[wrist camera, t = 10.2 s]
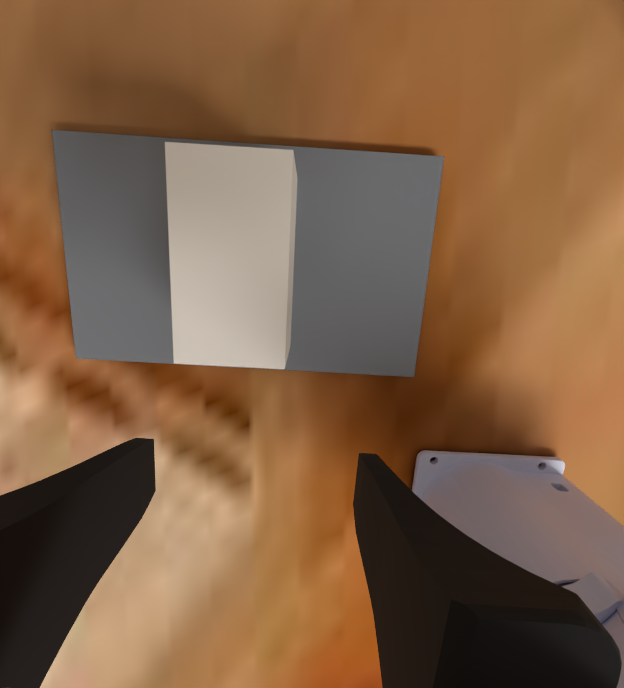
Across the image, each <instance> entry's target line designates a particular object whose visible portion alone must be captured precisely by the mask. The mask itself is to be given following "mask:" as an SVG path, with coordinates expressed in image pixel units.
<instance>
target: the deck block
mask: <svg viewBox="0 0 624 688" xmlns="http://www.w3.org/2000/svg"><path fill="white" fill-rule="evenodd" d="M165 160H166V184H167V209H168V234H169V259H170V284H171V308H172V333H173V358H174V364H192V365H211V366H230V367H250V368H269V369H285V366H286V362H287V358H288V354H289V350H290V344H291V320H292V297H293V273H294V250H295V226H296V202H297V172H296V165H295V158H294V152H293V150H286V149H270V148H255V147H239V146H223V145H207V144H192V143H176V142H165Z"/></svg>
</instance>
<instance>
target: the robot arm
mask: <svg viewBox="0 0 624 688" xmlns="http://www.w3.org/2000/svg"><path fill="white" fill-rule="evenodd" d="M432 457H436V458H435V460H433V461H430V459H431V458H432ZM540 463H542V464H541V465H540V466H538V465H539V464H540ZM564 468H565V463H564V462H563V461H562V460H561V459H559V458H558V457H546V456H526V455H507V454H487V453H468V452H448V451H429V450H424V451H421V452H419V453H418V455H417V459H416V466H415V472H414V479H413V486H412V491H411V490H410V489H409V488H408V487H407V486H406V485H405V484H404V483H403V482H402V481H401V480H400V479H399V478H398V477H397V476H396V475H395V473H394V472H393V471H392V470H391V469H390V468H389V467H388V466H387V465H386V464H385V463H384V462H383V461H382V459H381V458H380V457H379V456H378V455H377V454H366V453H359V459H358V467H357V476H356V484H355V493H354V501H353V507H354V518H355V527H356V534H357V539H358V544H359V548H360V553H361V557H362V562H363V566H364V571H365V575H366V580H367V584H368V589H369V594H370V598H371V603H372V609H373V614H374V621H375V629H376V636H377V644H378V652H379V660H380V668H381V677H382V685H383V688H624V526H623V525H621V524H620V523H619V522H618V521H617V520H615V519H614V518H613V517H612V516H611V515H609V514H608V513H607V512H606V511H605V510H603V509H602V508H601V507H600V506H599V505H597V504H596V503H595V502H594V501H593V500H591V499H590V498H589V497H588V496H587V495H586V494H584V493H583V492H582V491H581V490H580V489H578V488H577V487H576V486H575V485H574V484H572V483H571V482H570V481H569V480H568V479H566V478H565V477H564V476H563V472H564ZM155 491H156V490H155V462H154V439H145V438H135V439H132V440H129V441H127V442H124V443H122V444H120V445H118V446H116V447H113V448H111V449H109V450H107V451H105V452H103V453H101V454H99V455H96V456H94V457H92V458H90V459H88V460H86V461H84V462H82V463H80V464H77V465H75V466H73V467H71V468H68V469H66V470H64V471H61V472H59V473H57V474H54V475H52V476H50V477H48V478H45V479H43V480H41V481H38V482H36V483H33V484H30V485H28V486H25V487H23V488H20V489H17V490H14V491H12V492H9V493H6V494H3V495H1V496H0V688H40V686H41V684H42V682H43V680H44V678H45V676H46V674H47V672H48V670H49V668H50V666H51V665H52V663H53V661H54V659H55V657H56V655H57V653H58V651H59V650H60V648H61V646H62V644H63V642H64V640H65V638H66V636H67V635H68V633H69V631H70V629H71V628H72V626H73V624H74V622H75V620H76V619H77V617H78V615H79V613H80V612H81V610H82V608H83V606H84V604H85V603H86V601H87V599H88V598H89V596H90V594H91V593H92V591H93V590H94V588H95V586H96V585H97V583H98V582H99V580H100V579H101V577H102V576H103V574H104V573H105V572H106V570H107V569H108V567H109V566H110V564H111V563H112V561H113V560H114V558H115V557H116V555H117V554H118V553H119V551H120V550H121V548H122V547H123V545H124V544H125V542H126V541H127V539H128V538H129V536H130V535H131V533H132V532H133V530H134V529H135V527H136V526H137V524H138V523H139V521H140V520H141V518H142V516H143V515H144V513H145V511H146V509H147V507H148V505H149V503H150V501H151V499H152V497H153V495H154V493H155Z"/></svg>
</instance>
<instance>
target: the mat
mask: <svg viewBox="0 0 624 688" xmlns="http://www.w3.org/2000/svg"><path fill="white" fill-rule="evenodd" d="M52 137H53V147H54V156H55V166H56V175H57V185H58V194H59V203H60V213H61V222H62V232H63V241H64V251H65V260H66V270H67V279H68V288H69V298H70V307H71V317H72V326H73V336H74V345H75V354H76V358H78V359H96V360H114V361H132V362H150V363H168V364H174V358H173V333H172V308H171V284H170V259H169V234H168V209H167V184H166V160H165V142H176V143H192V144H207V145H223V146H239V147H255V148H270V149H286V150H293V152H294V158H295V165H296V172H297V202H296V226H295V250H294V273H293V297H292V320H291V344H290V350H289V354H288V358H287V362H286V366H285V369H277V370H295V371H313V372H331V373H349V374H367V375H385V376H403V377H414V374H415V366H416V359H417V352H418V344H419V337H420V330H421V322H422V315H423V308H424V300H425V293H426V286H427V278H428V271H429V264H430V256H431V249H432V242H433V234H434V227H435V220H436V212H437V205H438V198H439V190H440V183H441V176H442V168H443V161H444V156H430V155H415V154H400V153H386V152H371V151H356V150H341V149H327V148H312V147H297V146H282V145H268V144H253V143H238V142H224V141H209V140H194V139H179V138H165V137H150V136H135V135H120V134H106V133H91V132H76V131H61V130H52ZM187 365H192V364H187ZM205 366H211V365H205ZM223 367H230V366H223ZM241 368H250V367H241ZM259 369H269V368H259Z"/></svg>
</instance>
